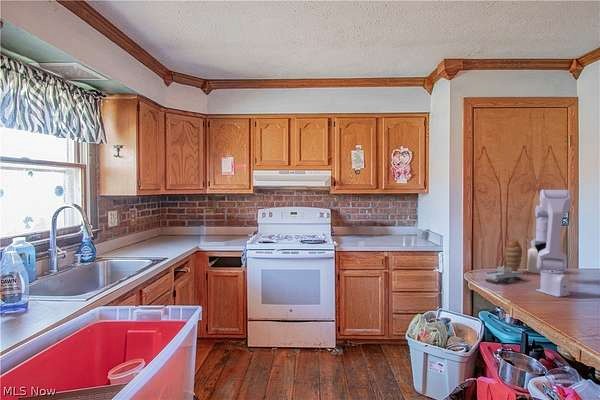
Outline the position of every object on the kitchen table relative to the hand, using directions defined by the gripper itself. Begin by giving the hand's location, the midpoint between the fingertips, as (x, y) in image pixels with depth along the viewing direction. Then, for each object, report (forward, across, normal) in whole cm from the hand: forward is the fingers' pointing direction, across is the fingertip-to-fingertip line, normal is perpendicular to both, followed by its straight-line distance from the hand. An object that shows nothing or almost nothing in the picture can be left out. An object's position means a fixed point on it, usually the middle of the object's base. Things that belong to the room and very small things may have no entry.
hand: (542, 259), depth 164 cm
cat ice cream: (+11, 0, -15) cm, 19 cm away
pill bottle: (+11, -14, -12) cm, 21 cm away
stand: (+10, +18, -6) cm, 22 cm away
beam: (+8, +18, -6) cm, 21 cm away
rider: (+7, +18, -6) cm, 20 cm away
